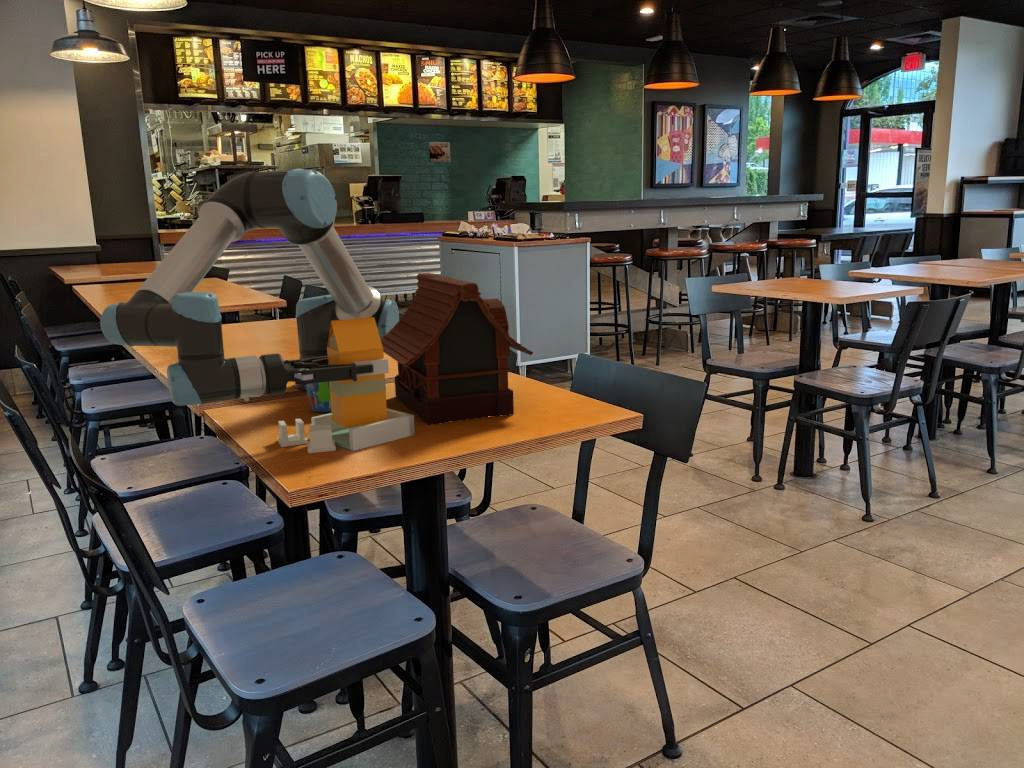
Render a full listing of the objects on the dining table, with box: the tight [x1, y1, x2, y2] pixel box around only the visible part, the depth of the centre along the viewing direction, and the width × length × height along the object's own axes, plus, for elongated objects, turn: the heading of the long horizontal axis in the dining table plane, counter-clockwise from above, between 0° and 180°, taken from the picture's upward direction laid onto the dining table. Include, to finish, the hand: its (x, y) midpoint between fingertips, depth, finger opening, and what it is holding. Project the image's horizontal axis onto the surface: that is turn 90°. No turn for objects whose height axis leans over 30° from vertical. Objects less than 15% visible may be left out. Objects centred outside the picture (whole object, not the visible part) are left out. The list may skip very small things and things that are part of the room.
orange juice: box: [327, 317, 388, 428], centre depth 150 cm, size 8×9×20 cm
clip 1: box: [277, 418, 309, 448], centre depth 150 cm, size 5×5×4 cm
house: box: [381, 272, 534, 426], centre depth 175 cm, size 35×28×29 cm
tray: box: [310, 407, 416, 452], centre depth 153 cm, size 14×14×4 cm
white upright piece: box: [307, 424, 337, 454], centre depth 145 cm, size 5×5×4 cm
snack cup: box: [305, 382, 332, 413], centre depth 175 cm, size 16×10×10 cm
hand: (379, 362), depth 152 cm, fingers closed on orange juice, 8 cm apart
